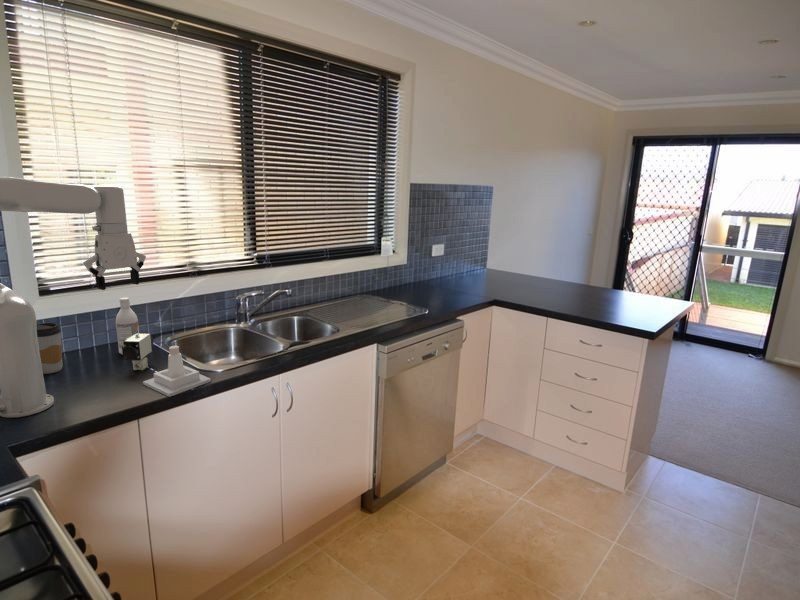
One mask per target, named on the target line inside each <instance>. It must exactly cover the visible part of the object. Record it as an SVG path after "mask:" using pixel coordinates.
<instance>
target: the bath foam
mask: <svg viewBox="0 0 800 600" xmlns="http://www.w3.org/2000/svg"><path fill="white" fill-rule="evenodd" d="M130 303H131V302H130V297H127V296H125V297H119V305H120V309H119V311H118V313H117V315H116V317H115V326H116V327H115V328H116V335H117V336H116V337H117V343H118V344H117V347H118V353H119V354H120V355H123V353H122V347H124V344H123V342H124V341H125V340H126V338H128V337H132V336H133V335H135V334H136V333H140V327H139V319H138V318H139V317H138V316H137V314H136V313H135V311H133V309H132V308H131V304H130Z"/></svg>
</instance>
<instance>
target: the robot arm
mask: <svg viewBox="0 0 800 600" xmlns="http://www.w3.org/2000/svg"><path fill="white" fill-rule="evenodd" d="M0 212H20V213H53V214H54V213H55V214H75V215H76V214H77V215H79V214H80V215H86V214H87V215H88V214H92V213H95V218H96V219H95V220H96V222H95V225H92V226H91V228H92V231H94V232H97V233H95V237H94V255H93V256H91V257H90V258H88V259H86V260H84V261H83V263H82V264H83V266H85V268H86V269H87V271H88V272H89V273H91V274H92V275H93V276H95V277H94V278H95V286H96V287H97V288H98V289H99V290H101V291H106V290H107V287H106V279H105V276H104V273H105V272H106V270H107V271H109V270H116V269H117V270H119V269H125V268H130V269H131V270H130V271H129V273H130V283H131V284H134V285H139V284H140V282H139V281H140V271H141V269H142V267H143V266H144V262H145V261H146V258H147V255H145V254H142V253H140V252H137V251H136V246H135V240H134V238H133V236H132V235H133V234H132V232H129V231H128V222H127V212H126V203H125V193H124V189H123V188H122V186H120V185H117V184H96V185H89V184H88V185H87V184H81V183H57V182H48V181H47V182H45V181H38V180H31V179H27V178H22V177H15V176H14V177H13V176H4V175H3V176H2V175H0ZM93 263H95V267H96V268H94V267H93ZM36 325H37V316H36V312H35V309H34V307H33V305H32V304H31V303H30V302H29V301H28V300H27V299H26V298H25V297H24V296H22V295H21V294H19V293H18V292H17V291H15V290H13V289H11V288H9V287H8V286H6V285H5V284H3V283H1V282H0V417H3V418H10V419H12V418H22V417H28V416H32V415H35V414H38V413H41V412H43V411H45V410H47V409H49V408H50V407H52V405H53V404H54V403H55V398H54V396H53V395H51V394H48V393H47V390H46V383H45V379H44V374H43V371H42V364H41V358H40V352H39V346H38V339H37V326H36Z"/></svg>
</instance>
